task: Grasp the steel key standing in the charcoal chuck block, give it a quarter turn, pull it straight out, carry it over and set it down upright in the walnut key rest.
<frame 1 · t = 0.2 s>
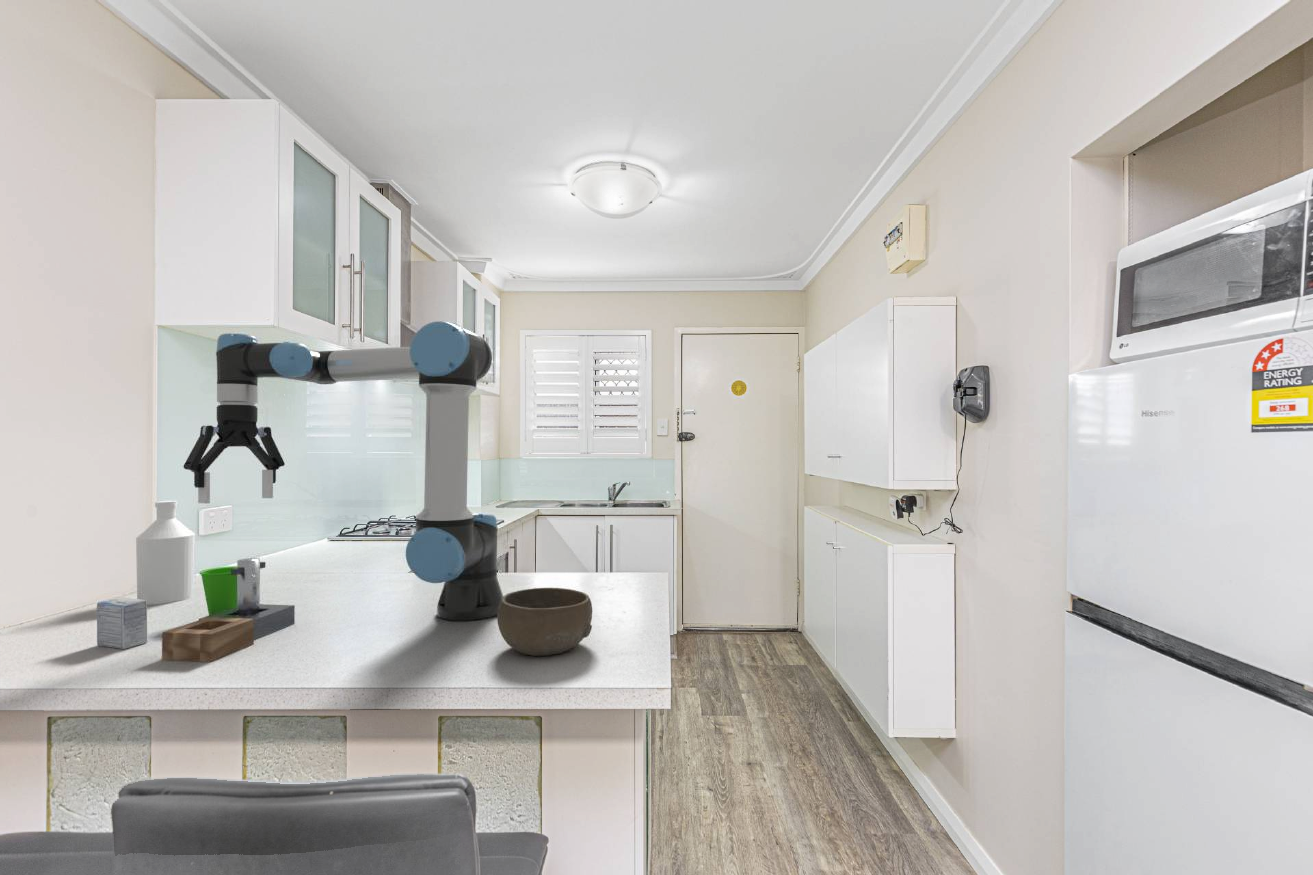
hand: (237, 500, 137), 27 cm above the countertop, fingers open, 13 cm apart
key rest: (209, 651, 118), on the countertop
bottle: (165, 599, 159), on the countertop
cup: (223, 619, 141), on the countertop
chuck block: (248, 630, 131), on the countertop
key: (248, 595, 131), in the chuck block
bowl: (545, 649, 119), on the countertop
medicine box: (122, 645, 122), on the countertop
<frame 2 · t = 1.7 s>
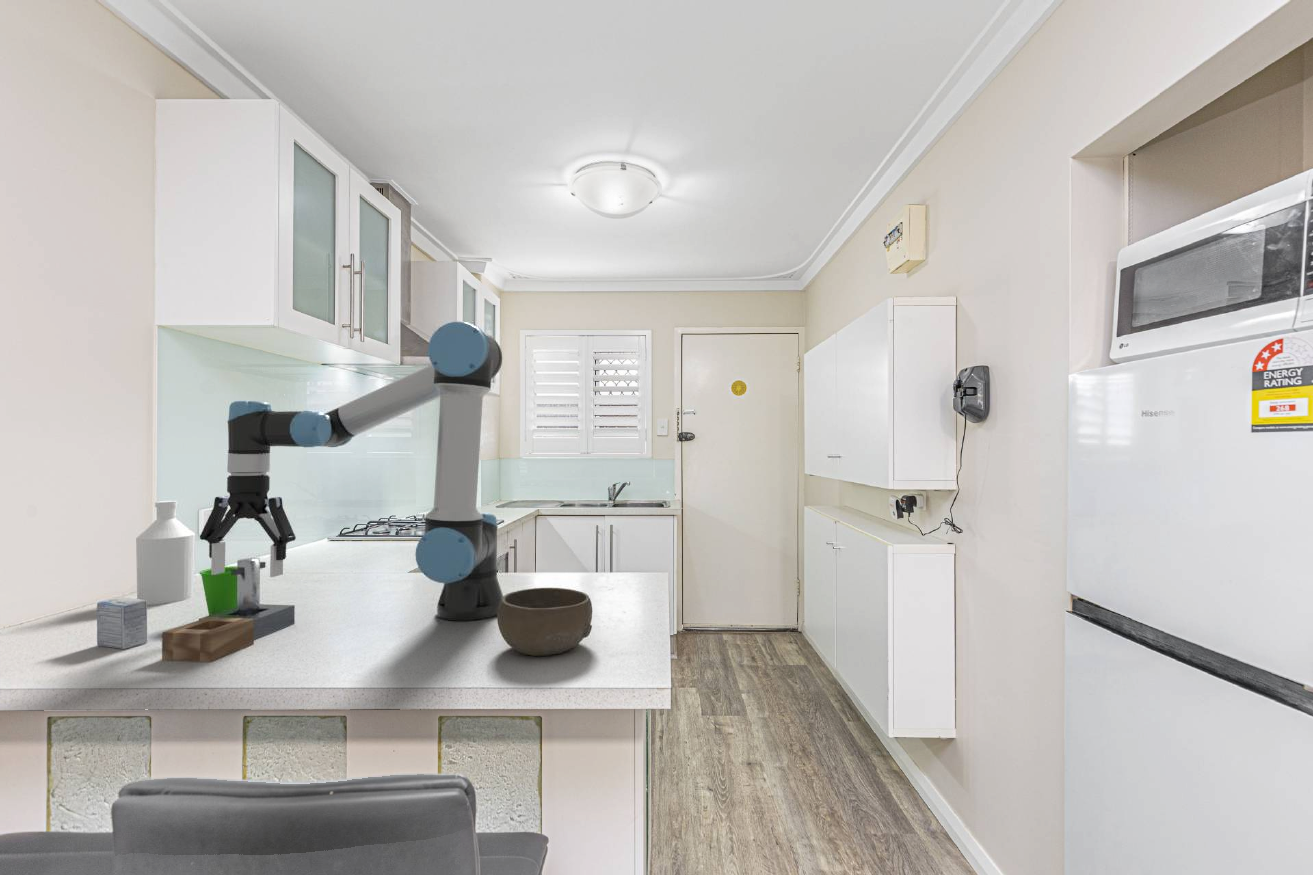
hand: (247, 574, 131), 12 cm above the countertop, fingers open, 13 cm apart
nothing on the countertop moved.
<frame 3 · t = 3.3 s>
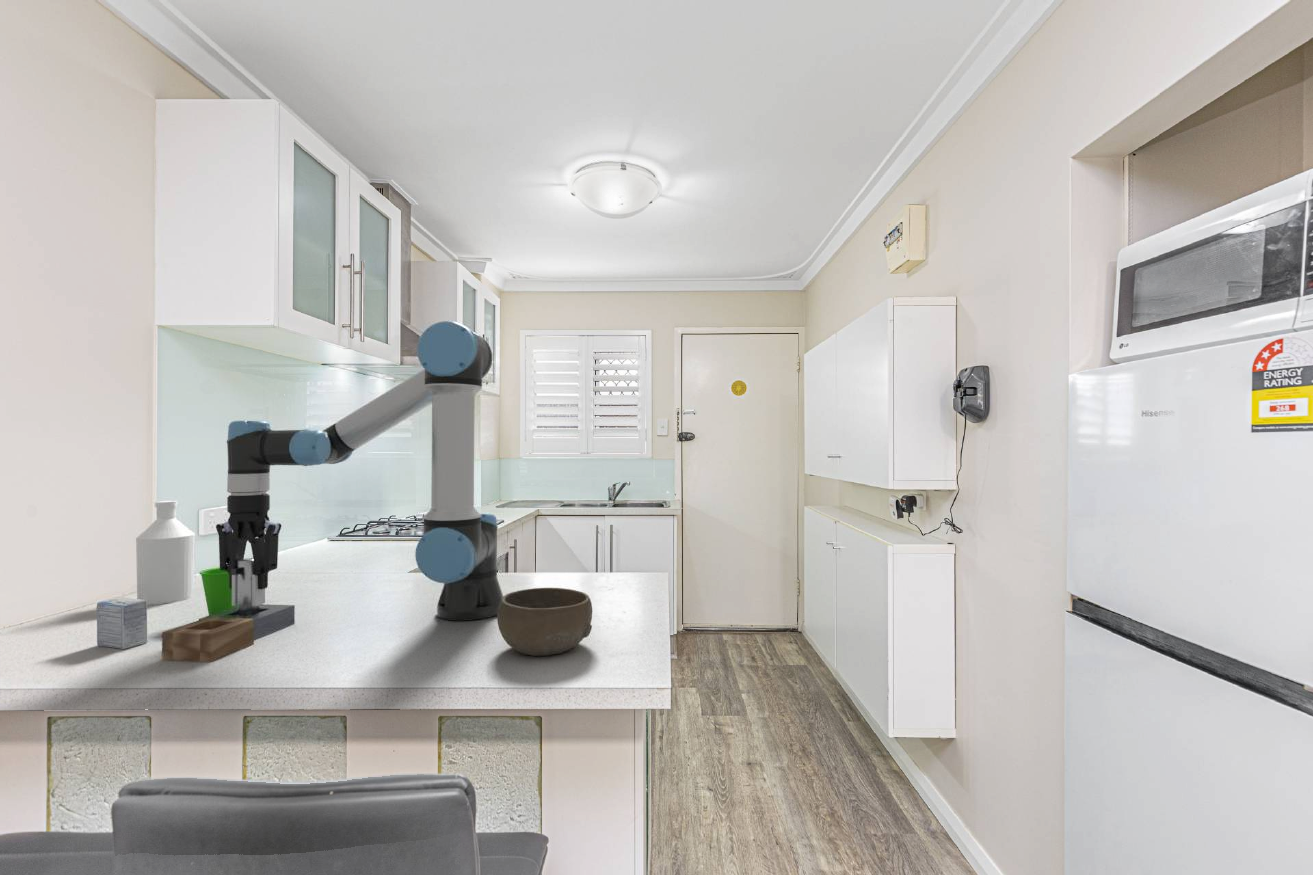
hand: (248, 603, 131), 6 cm above the countertop, fingers closed on key, 4 cm apart
key: (248, 595, 131), in the chuck block, touching gripper
everything else where it was.
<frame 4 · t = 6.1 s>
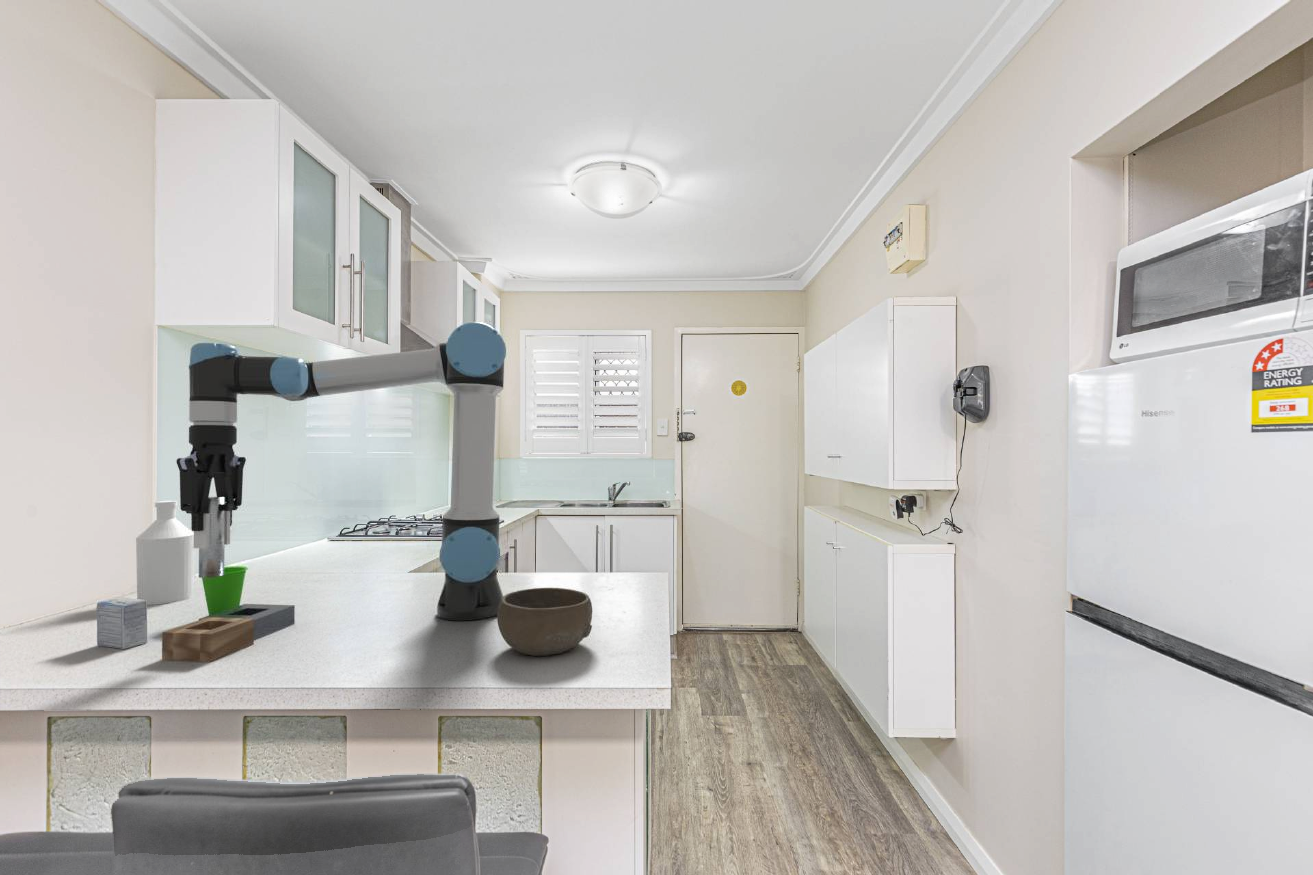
hand: (212, 545, 119), 20 cm above the countertop, fingers closed on key, 4 cm apart
key: (211, 536, 119), point 22 cm above the countertop, touching gripper
everything else where it was.
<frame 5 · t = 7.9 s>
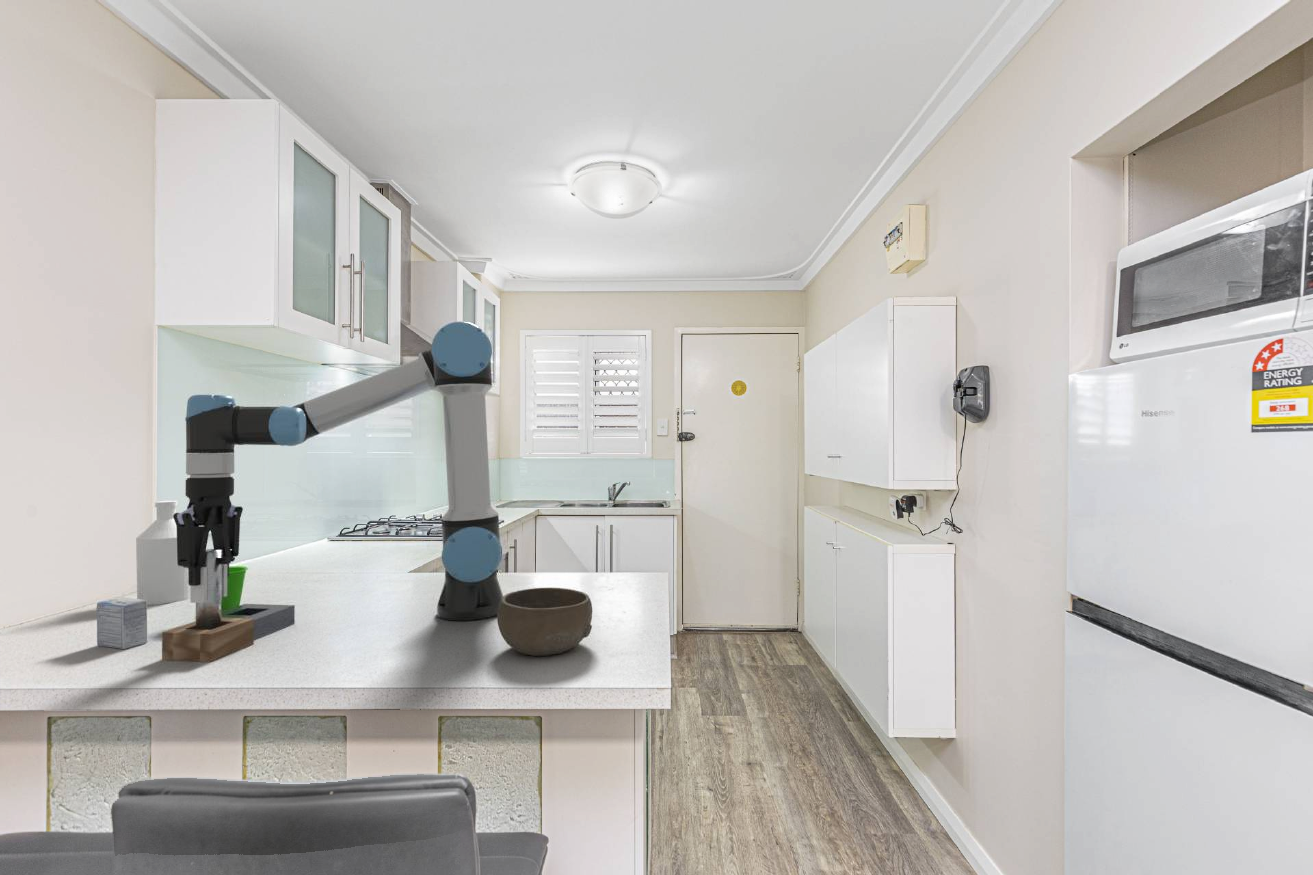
hand: (209, 598, 118), 10 cm above the countertop, fingers closed on key, 4 cm apart
key: (208, 589, 118), point 12 cm above the countertop, touching gripper
everything else where it was.
when the fingers open (8 cm above the countertop, at t = 9.1 s): key drops 2 cm, resting in key rest.
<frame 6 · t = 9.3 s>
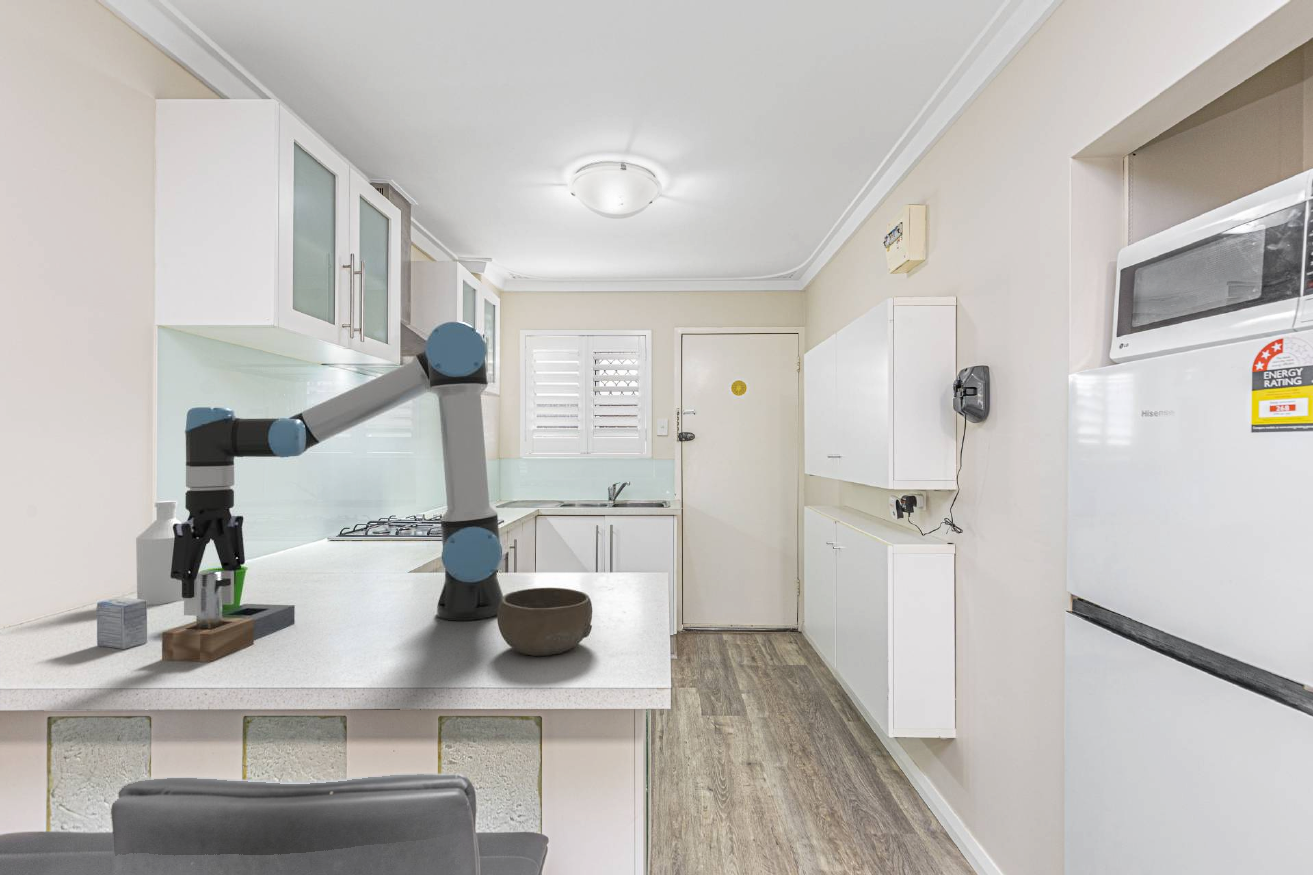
hand: (209, 609, 118), 8 cm above the countertop, fingers open, 7 cm apart
key: (209, 611, 118), in the key rest
everything else where it was.
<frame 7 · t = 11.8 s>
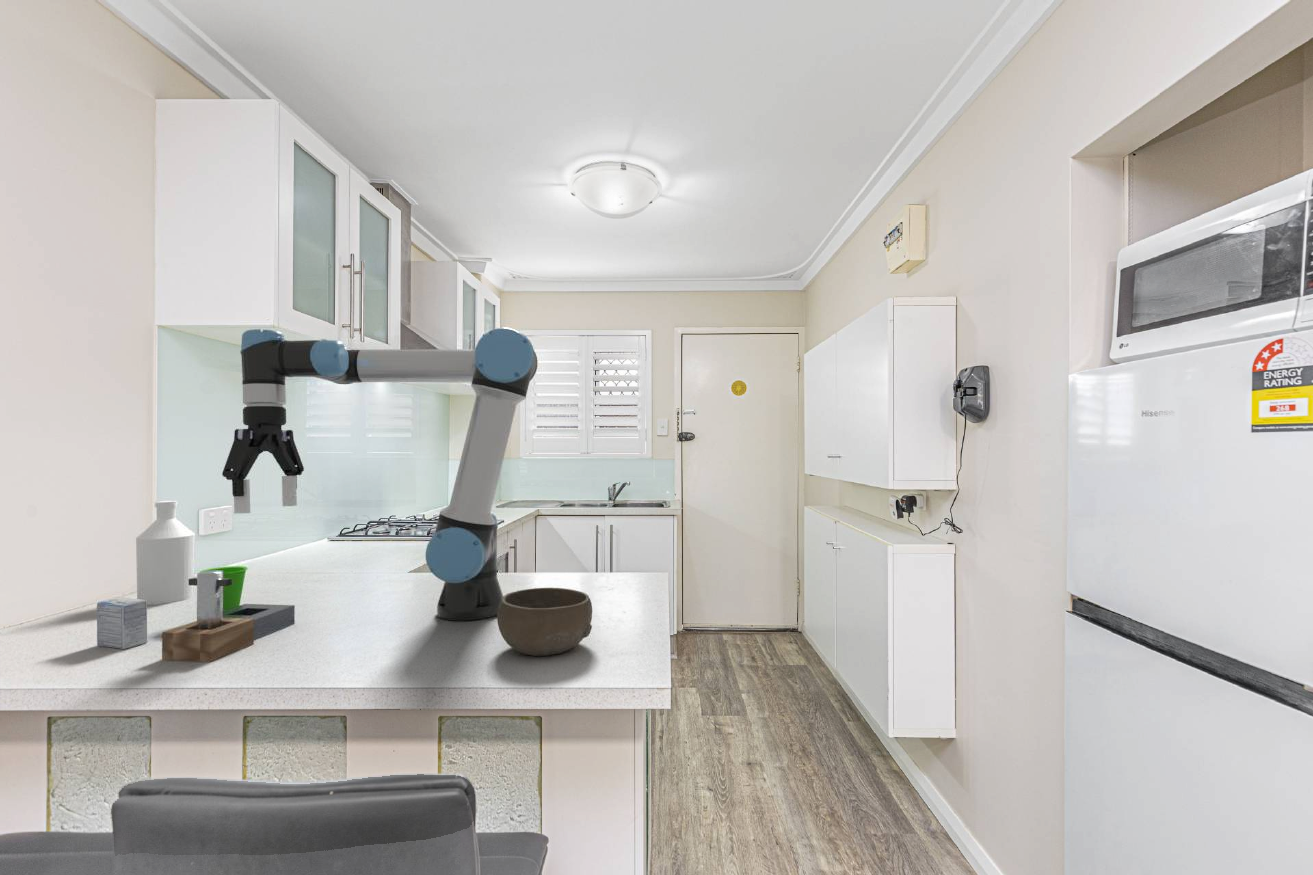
hand: (267, 509, 127), 26 cm above the countertop, fingers open, 13 cm apart
nothing on the countertop moved.
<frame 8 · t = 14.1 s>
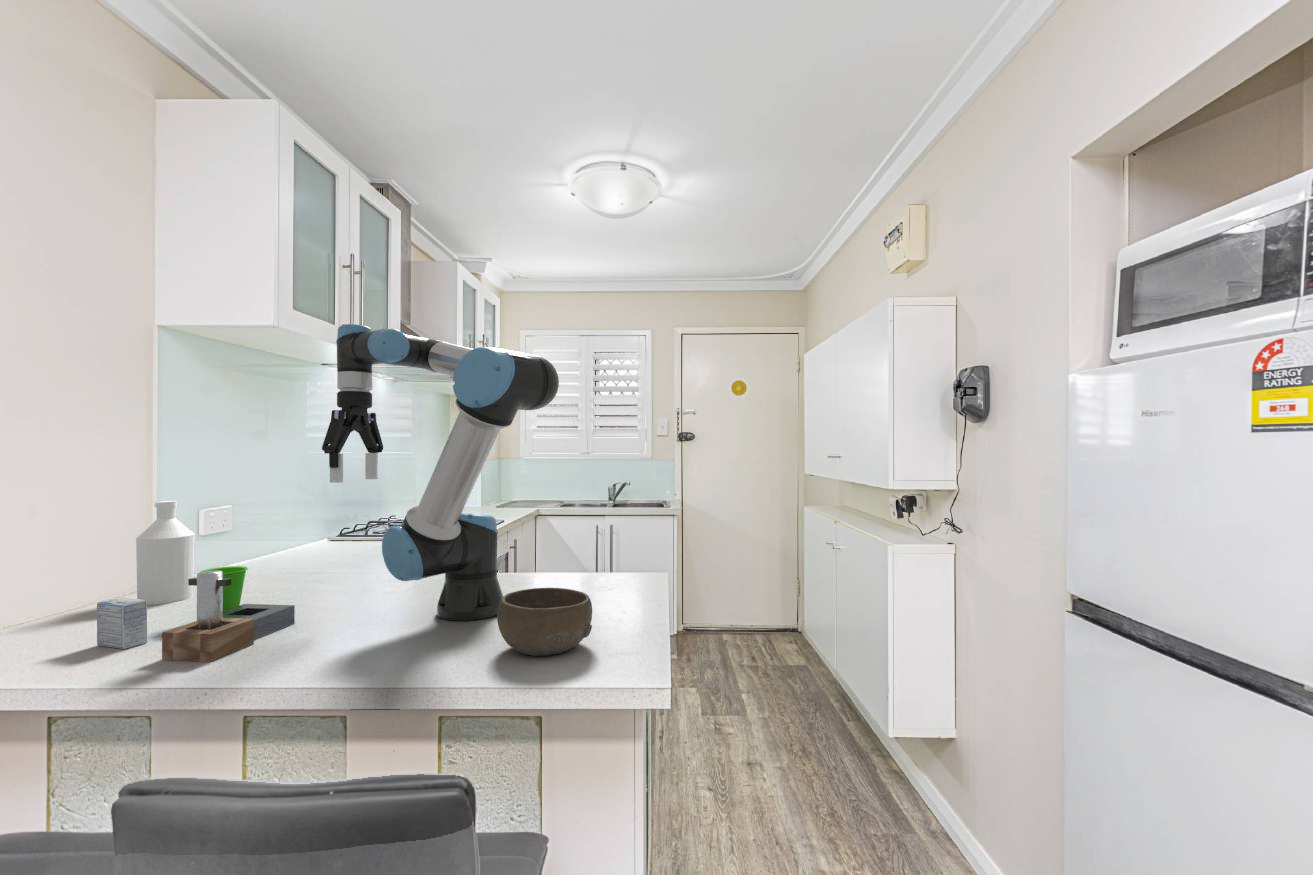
hand: (354, 480, 147), 31 cm above the countertop, fingers open, 13 cm apart
nothing on the countertop moved.
at the end: key 0.1 cm off-centre on the key rest, point 7.5 cm above the key rest's base; key tilted 0°; the gripper is holding nothing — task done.
